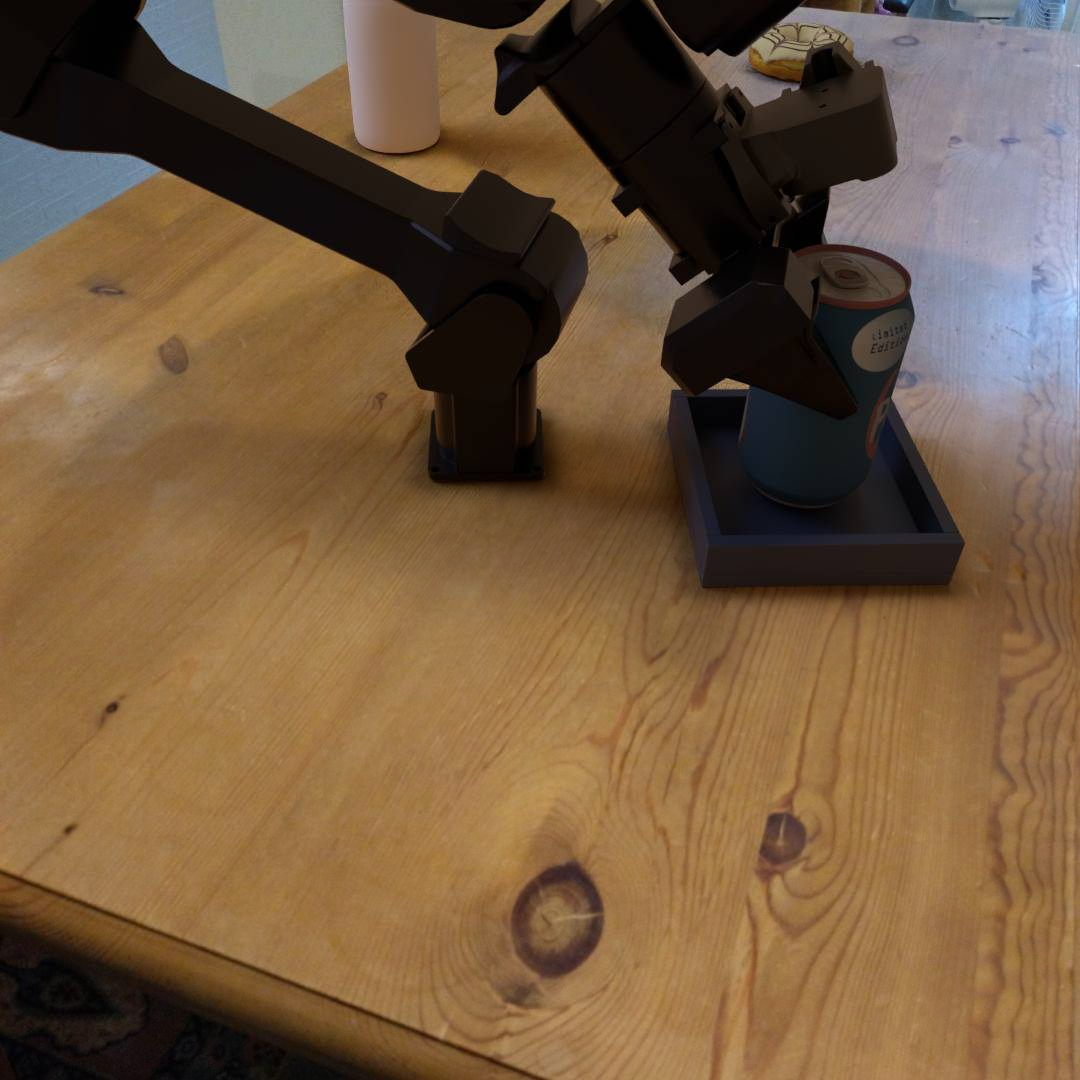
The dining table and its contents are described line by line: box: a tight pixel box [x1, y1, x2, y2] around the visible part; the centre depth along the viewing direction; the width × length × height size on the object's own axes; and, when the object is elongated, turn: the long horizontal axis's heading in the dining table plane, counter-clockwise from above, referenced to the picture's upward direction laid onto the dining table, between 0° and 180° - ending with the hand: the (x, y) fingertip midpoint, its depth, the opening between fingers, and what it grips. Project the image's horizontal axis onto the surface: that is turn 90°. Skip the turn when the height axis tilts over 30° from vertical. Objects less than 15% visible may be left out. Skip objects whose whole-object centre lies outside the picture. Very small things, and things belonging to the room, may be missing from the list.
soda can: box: [738, 243, 916, 508], centre depth 53 cm, size 7×7×12 cm
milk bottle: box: [342, 0, 441, 154], centre depth 89 cm, size 8×8×20 cm
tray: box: [666, 388, 966, 588], centre depth 57 cm, size 14×13×3 cm
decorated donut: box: [748, 22, 855, 82], centre depth 111 cm, size 10×11×4 cm
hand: (852, 374), depth 52 cm, fingers closed on soda can, 7 cm apart
